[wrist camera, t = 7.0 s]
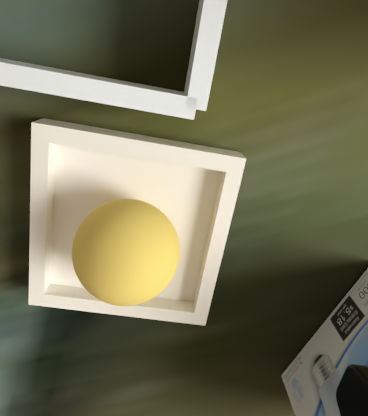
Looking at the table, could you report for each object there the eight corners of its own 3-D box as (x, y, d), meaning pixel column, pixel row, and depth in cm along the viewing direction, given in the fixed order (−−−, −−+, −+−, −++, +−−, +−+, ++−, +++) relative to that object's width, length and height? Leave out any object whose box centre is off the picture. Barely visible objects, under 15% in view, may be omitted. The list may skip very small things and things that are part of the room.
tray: (240, 151, 18) (246, 158, 16) (202, 308, 21) (205, 325, 20) (43, 118, 17) (31, 122, 15) (39, 287, 20) (28, 304, 19)
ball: (185, 192, 18) (192, 234, 13) (169, 273, 20) (171, 335, 15) (88, 178, 17) (60, 216, 13) (81, 262, 19) (55, 324, 14)
